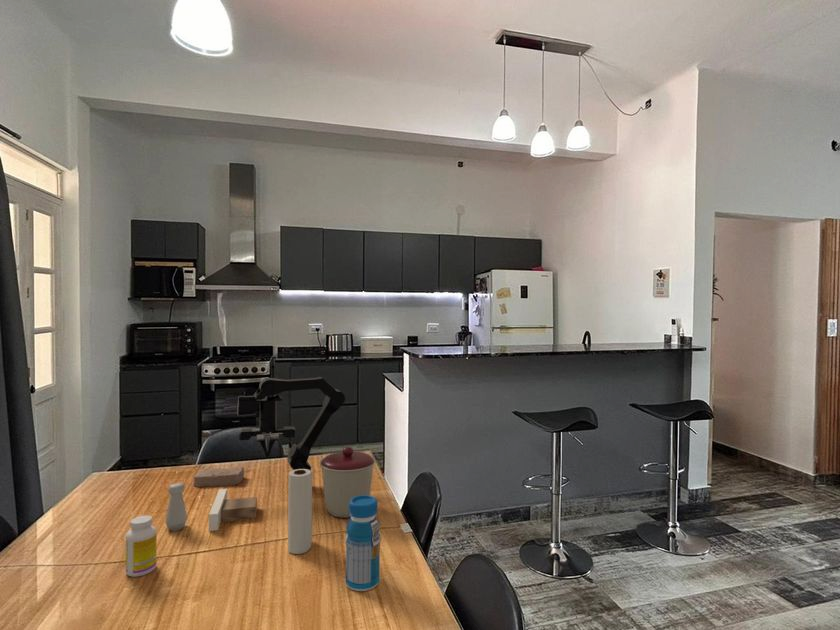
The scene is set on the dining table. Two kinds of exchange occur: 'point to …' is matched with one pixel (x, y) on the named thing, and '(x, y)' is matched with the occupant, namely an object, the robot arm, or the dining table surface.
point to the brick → (219, 476)
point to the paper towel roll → (300, 511)
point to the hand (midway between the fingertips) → (267, 457)
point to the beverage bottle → (362, 544)
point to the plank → (217, 510)
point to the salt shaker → (176, 508)
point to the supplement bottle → (140, 547)
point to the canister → (345, 479)
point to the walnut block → (239, 509)
